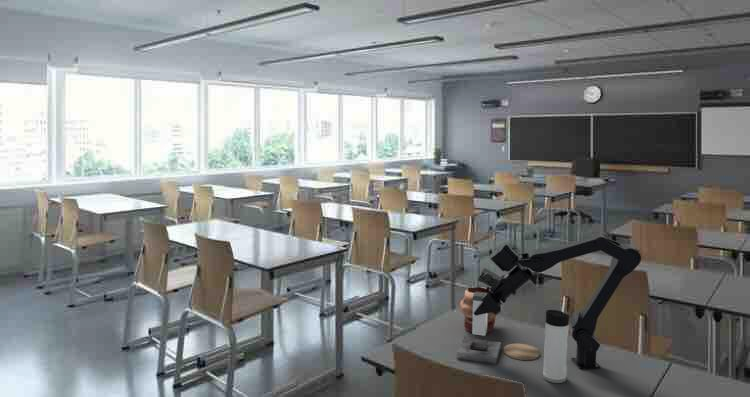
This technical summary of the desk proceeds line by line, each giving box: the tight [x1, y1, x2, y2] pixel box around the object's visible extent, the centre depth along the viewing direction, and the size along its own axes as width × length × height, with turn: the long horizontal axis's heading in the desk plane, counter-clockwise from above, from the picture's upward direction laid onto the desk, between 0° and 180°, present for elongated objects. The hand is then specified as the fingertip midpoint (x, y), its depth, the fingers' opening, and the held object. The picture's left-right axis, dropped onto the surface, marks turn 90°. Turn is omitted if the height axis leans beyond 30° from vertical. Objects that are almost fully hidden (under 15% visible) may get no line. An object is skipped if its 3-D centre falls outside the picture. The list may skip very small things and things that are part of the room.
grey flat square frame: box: [456, 337, 502, 365], centre depth 171 cm, size 12×12×2 cm
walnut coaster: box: [503, 342, 541, 361], centre depth 171 cm, size 11×11×1 cm
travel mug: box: [542, 309, 570, 384], centre depth 153 cm, size 6×7×20 cm
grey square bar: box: [471, 292, 488, 337], centre depth 169 cm, size 4×4×12 cm
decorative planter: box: [459, 286, 497, 334], centre depth 191 cm, size 20×12×14 cm, turn 142°
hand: (475, 311), depth 169 cm, fingers closed on grey square bar, 4 cm apart
